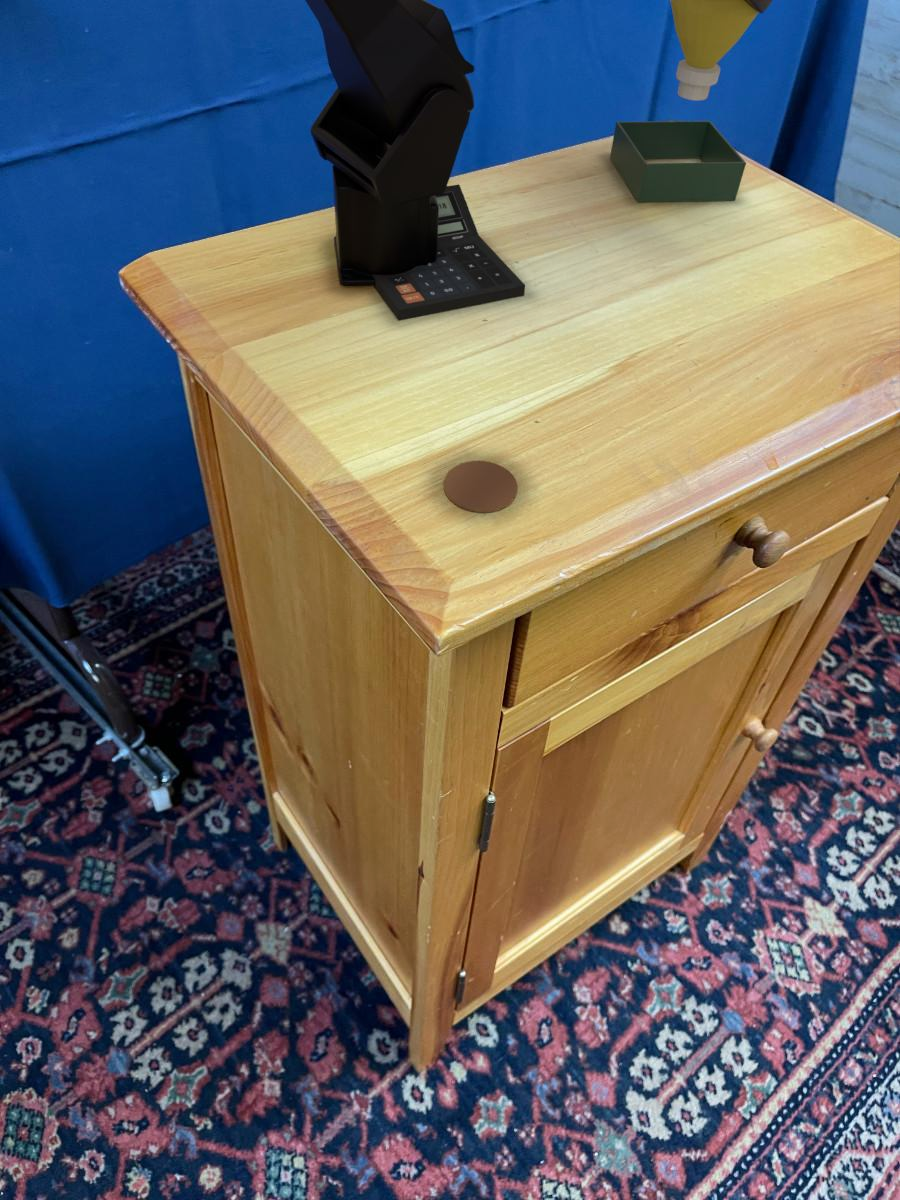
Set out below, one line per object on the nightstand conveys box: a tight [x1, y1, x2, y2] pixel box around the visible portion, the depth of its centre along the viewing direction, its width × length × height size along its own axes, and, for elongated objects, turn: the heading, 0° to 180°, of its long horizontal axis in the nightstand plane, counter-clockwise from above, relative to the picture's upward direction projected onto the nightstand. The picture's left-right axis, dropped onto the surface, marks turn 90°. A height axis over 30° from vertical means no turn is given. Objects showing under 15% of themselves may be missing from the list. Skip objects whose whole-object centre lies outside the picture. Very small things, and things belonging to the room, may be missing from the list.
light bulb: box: [669, 0, 760, 102], centre depth 64 cm, size 7×7×10 cm
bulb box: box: [609, 120, 747, 204], centre depth 72 cm, size 8×8×3 cm
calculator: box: [372, 183, 526, 322], centre depth 61 cm, size 9×12×3 cm
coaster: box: [443, 460, 519, 513], centre depth 47 cm, size 4×4×1 cm
